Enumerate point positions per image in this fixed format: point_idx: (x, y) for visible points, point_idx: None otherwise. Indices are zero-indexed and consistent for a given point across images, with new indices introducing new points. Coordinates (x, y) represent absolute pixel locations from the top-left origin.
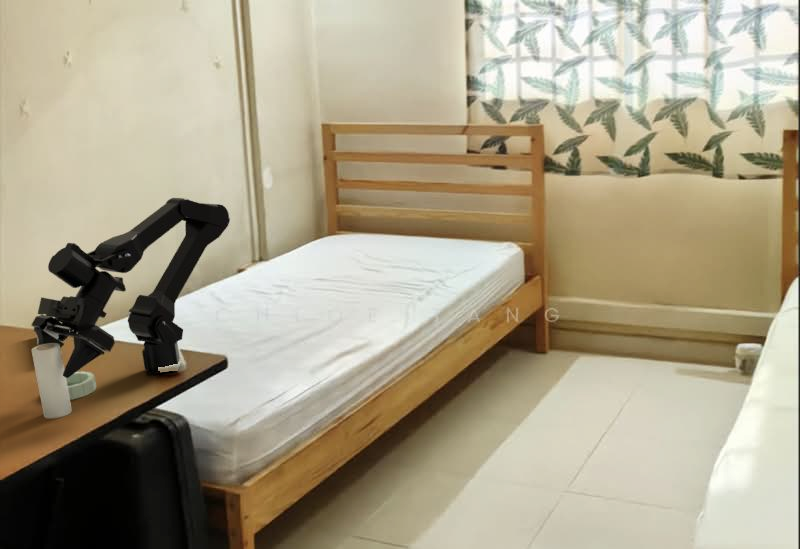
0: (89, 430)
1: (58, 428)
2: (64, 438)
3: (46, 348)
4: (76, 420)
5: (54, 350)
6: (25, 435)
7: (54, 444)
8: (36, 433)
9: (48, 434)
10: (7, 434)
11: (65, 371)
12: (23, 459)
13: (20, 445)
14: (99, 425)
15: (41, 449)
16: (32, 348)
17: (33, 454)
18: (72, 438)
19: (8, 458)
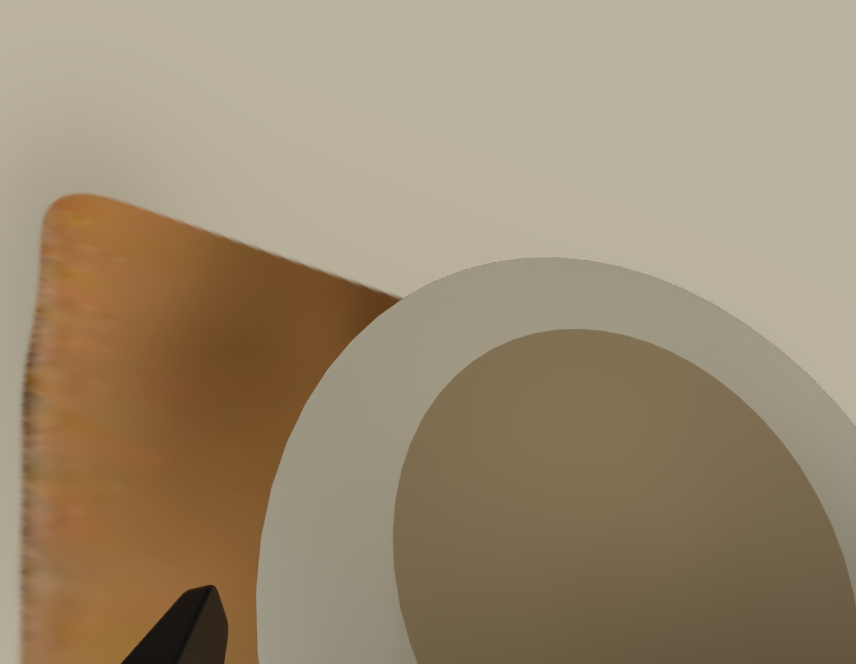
0: (35, 560)
1: (238, 457)
2: (96, 423)
3: (451, 482)
4: (241, 575)
5: (272, 635)
6: (309, 333)
7: (88, 367)
8: (284, 368)
9: (219, 396)
10: (387, 296)
11: (155, 628)
12: (98, 245)
13: (232, 285)
14: (26, 644)
15: (105, 315)
16: (738, 320)
17: (97, 280)
18: (51, 449)
19: (166, 222)
